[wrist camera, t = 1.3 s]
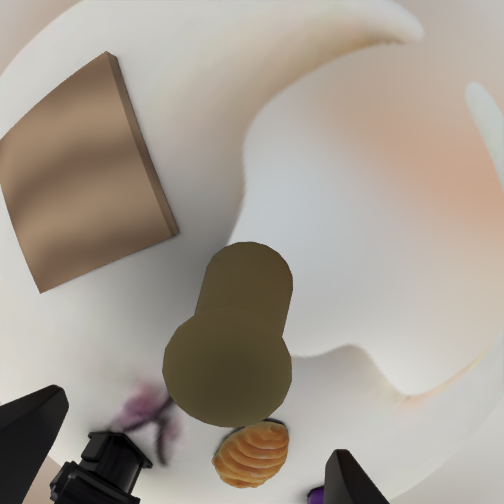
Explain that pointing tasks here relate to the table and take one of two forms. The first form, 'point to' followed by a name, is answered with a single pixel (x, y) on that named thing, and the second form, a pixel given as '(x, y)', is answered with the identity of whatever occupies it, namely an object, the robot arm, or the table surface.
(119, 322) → the table surface
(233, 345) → the olive rounded upright piece
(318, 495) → the potion bottle
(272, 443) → the pastry
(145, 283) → the table surface
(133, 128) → the walnut board
